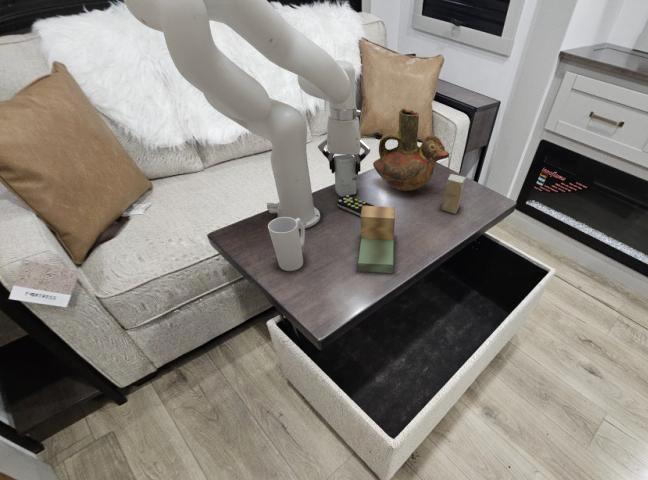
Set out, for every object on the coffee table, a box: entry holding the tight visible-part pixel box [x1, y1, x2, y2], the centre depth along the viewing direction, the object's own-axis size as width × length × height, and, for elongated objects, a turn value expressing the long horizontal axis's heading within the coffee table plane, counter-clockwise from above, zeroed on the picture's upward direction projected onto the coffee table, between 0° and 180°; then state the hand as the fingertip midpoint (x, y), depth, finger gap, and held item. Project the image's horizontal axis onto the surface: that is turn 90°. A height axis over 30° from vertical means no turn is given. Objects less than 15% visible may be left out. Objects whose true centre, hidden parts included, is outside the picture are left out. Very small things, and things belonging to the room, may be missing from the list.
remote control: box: [336, 195, 375, 217], centre depth 108 cm, size 6×13×2 cm, turn 57°
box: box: [441, 173, 467, 215], centre depth 108 cm, size 5×4×11 cm
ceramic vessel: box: [372, 107, 451, 192], centre depth 112 cm, size 17×26×25 cm, turn 77°
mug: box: [267, 217, 306, 272], centre depth 85 cm, size 10×7×12 cm, turn 151°
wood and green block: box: [357, 205, 396, 274], centre depth 90 cm, size 9×16×10 cm, turn 0°
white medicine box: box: [333, 154, 357, 198], centre depth 110 cm, size 6×4×12 cm
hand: (345, 172), depth 110 cm, fingers closed on white medicine box, 7 cm apart
